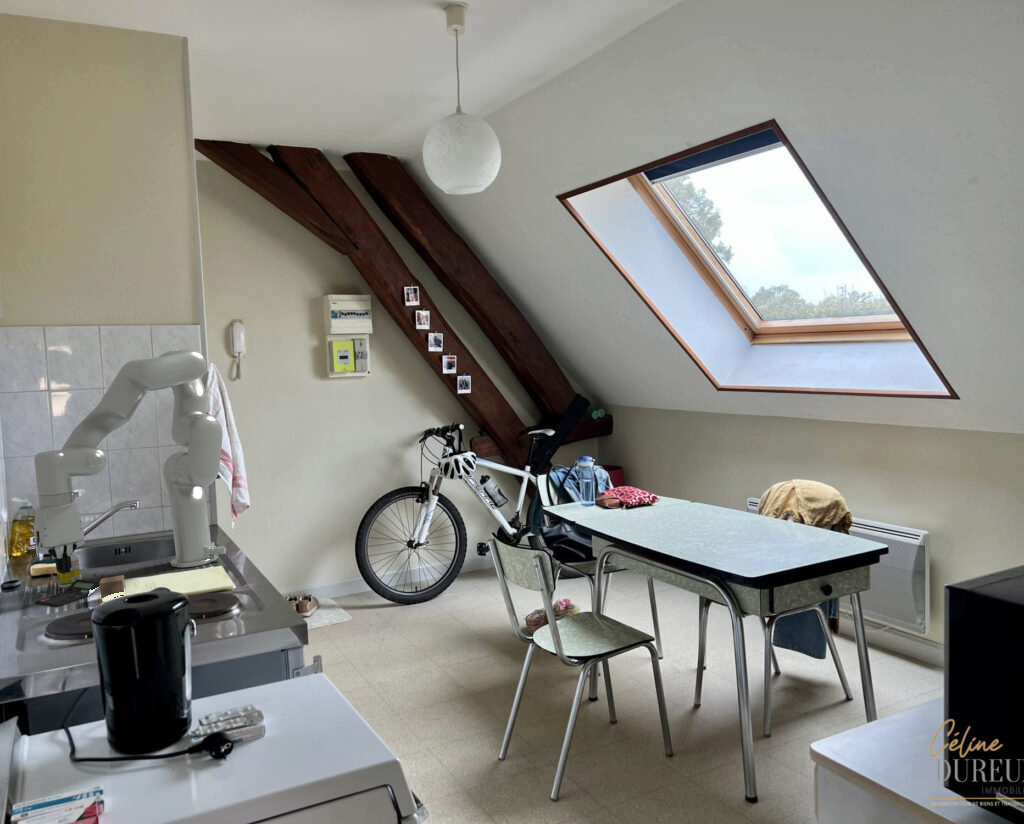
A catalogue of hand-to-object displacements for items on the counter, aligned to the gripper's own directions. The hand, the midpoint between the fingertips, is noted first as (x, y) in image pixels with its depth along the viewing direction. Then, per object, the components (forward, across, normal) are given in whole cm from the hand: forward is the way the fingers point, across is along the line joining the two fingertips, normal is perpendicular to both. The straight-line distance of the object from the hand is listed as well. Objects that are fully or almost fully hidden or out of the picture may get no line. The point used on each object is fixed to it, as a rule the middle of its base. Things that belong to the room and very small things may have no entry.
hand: (64, 572), depth 199 cm
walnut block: (+7, -6, +12) cm, 15 cm away
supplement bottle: (+7, -6, -12) cm, 15 cm away
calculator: (+7, 0, 0) cm, 7 cm away
